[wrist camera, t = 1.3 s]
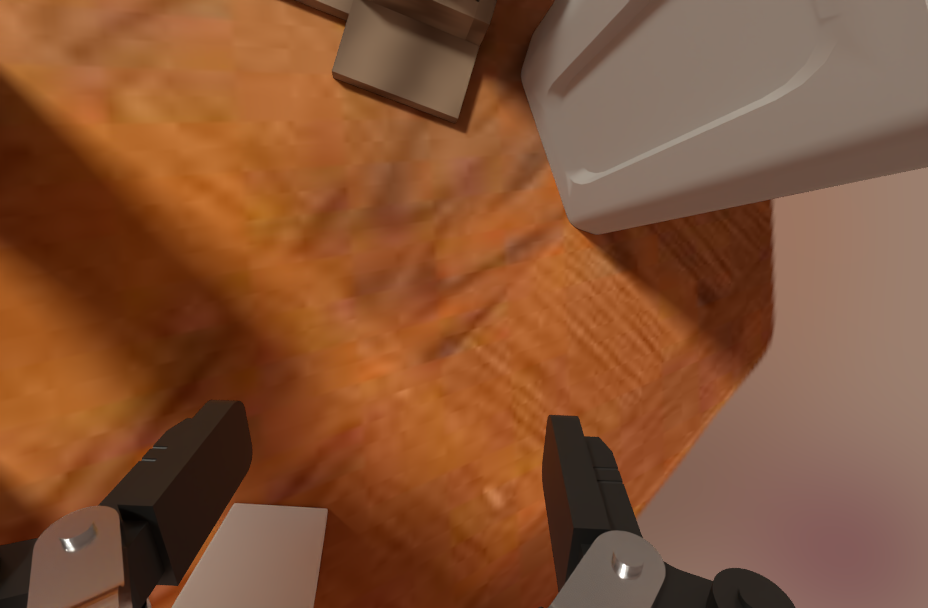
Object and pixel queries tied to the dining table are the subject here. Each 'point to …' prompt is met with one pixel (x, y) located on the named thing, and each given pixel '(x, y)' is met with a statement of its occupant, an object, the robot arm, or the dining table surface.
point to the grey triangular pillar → (723, 101)
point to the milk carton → (260, 560)
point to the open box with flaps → (410, 48)
